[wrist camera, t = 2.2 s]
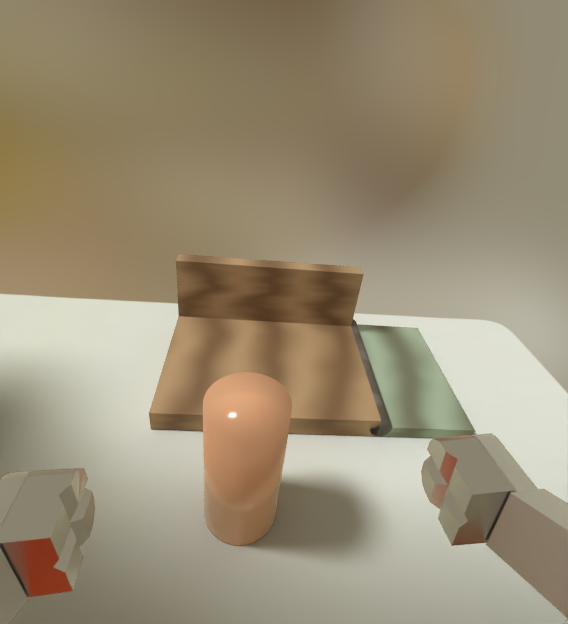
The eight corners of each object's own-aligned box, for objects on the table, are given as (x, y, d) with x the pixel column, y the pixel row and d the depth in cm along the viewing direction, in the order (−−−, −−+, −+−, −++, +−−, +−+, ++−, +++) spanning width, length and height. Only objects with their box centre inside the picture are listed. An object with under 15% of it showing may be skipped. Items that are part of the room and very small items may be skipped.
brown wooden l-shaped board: (150, 429, 34) (141, 347, 29) (181, 322, 48) (178, 254, 43) (469, 439, 37) (509, 365, 32) (414, 335, 50) (437, 273, 46)
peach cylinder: (200, 545, 27) (197, 437, 21) (208, 476, 31) (207, 370, 25) (277, 545, 27) (295, 439, 21) (274, 477, 32) (289, 373, 26)
